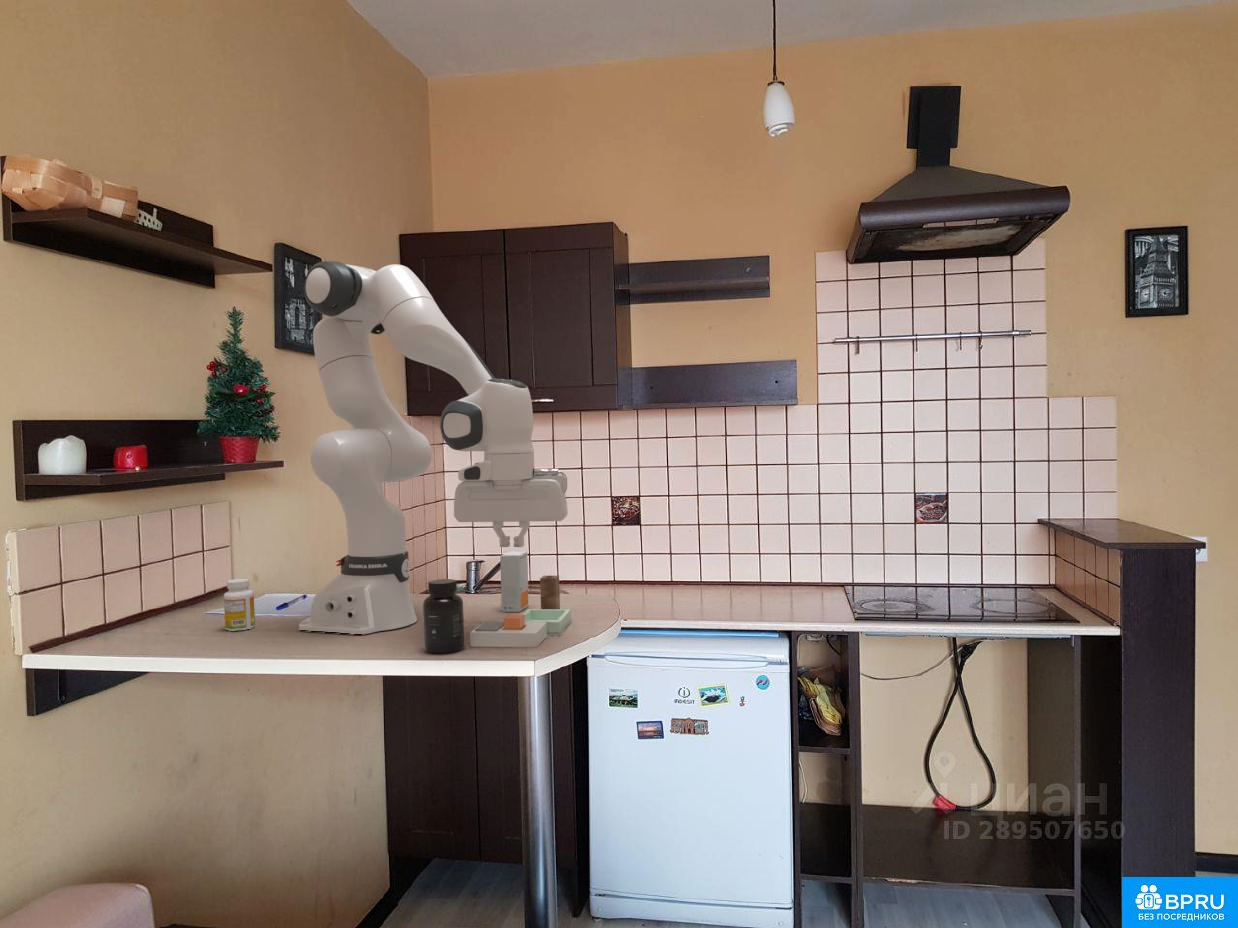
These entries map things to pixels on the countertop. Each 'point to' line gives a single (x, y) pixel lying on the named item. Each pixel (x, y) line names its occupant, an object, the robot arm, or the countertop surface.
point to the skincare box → (514, 581)
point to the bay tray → (550, 619)
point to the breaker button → (514, 622)
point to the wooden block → (550, 592)
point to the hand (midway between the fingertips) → (511, 546)
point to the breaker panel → (508, 635)
